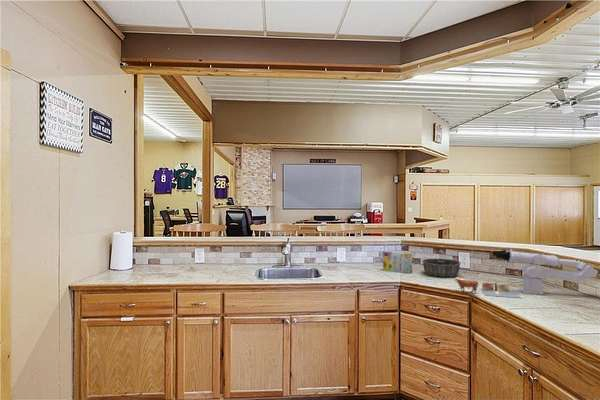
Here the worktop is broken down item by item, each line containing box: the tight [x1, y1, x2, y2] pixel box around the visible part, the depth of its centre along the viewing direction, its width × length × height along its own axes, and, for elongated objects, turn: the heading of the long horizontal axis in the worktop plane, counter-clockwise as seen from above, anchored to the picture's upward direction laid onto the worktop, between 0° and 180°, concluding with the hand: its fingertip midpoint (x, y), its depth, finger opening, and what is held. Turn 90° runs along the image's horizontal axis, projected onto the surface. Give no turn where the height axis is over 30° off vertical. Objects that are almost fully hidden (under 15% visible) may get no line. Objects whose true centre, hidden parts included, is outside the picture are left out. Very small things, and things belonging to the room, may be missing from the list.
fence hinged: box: [481, 282, 495, 291], centre depth 217 cm, size 6×1×4 cm, turn 72°
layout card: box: [480, 288, 522, 299], centre depth 212 cm, size 18×16×1 cm
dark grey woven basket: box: [421, 257, 462, 278], centre depth 265 cm, size 26×26×10 cm
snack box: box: [382, 250, 413, 274], centre depth 277 cm, size 21×6×15 cm, turn 58°
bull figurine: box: [453, 276, 479, 295], centre depth 216 cm, size 4×13×8 cm, turn 51°
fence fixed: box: [494, 282, 510, 292], centre depth 215 cm, size 8×1×5 cm, turn 72°
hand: (494, 254), depth 220 cm, fingers open, 7 cm apart
